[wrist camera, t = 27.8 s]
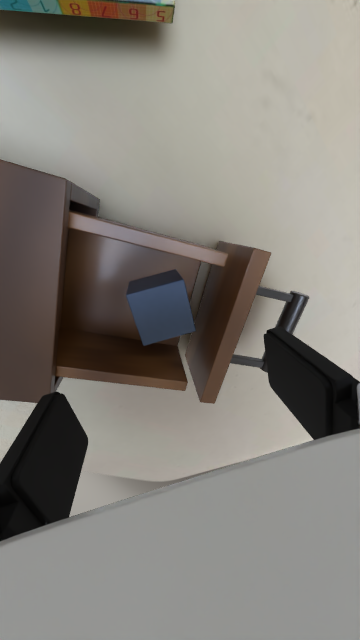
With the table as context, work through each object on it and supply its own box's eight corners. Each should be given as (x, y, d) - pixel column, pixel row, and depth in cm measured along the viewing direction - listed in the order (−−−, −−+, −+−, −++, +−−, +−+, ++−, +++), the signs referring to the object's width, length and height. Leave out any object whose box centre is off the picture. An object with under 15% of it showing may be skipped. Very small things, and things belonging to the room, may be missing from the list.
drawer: (287, 260, 21) (347, 274, 15) (245, 364, 25) (279, 410, 19) (64, 197, 17) (18, 181, 11) (53, 335, 21) (15, 383, 14)
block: (186, 312, 21) (196, 331, 17) (143, 324, 20) (143, 346, 17) (176, 268, 19) (184, 279, 15) (128, 281, 19) (125, 295, 15)
